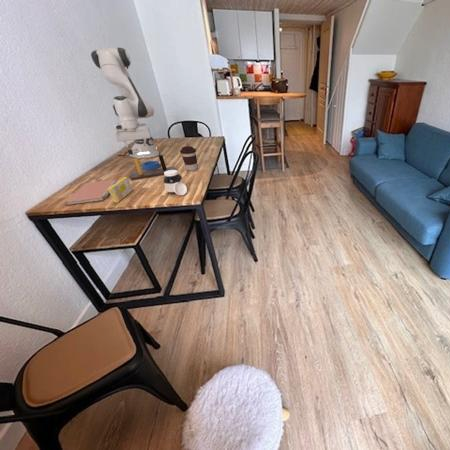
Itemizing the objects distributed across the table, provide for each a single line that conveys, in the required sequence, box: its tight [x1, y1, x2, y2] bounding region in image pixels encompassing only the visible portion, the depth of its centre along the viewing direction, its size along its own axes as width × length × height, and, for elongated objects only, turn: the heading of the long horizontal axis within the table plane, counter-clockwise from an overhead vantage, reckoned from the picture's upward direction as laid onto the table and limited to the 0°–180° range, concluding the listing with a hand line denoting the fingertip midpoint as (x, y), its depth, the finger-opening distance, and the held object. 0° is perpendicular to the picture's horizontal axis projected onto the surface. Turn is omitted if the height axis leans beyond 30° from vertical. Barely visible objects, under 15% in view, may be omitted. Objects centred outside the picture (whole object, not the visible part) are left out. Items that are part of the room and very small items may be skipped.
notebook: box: [65, 179, 118, 206], centre depth 139 cm, size 27×17×2 cm, turn 19°
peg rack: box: [130, 154, 176, 181], centre depth 162 cm, size 26×10×12 cm, turn 122°
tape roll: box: [141, 160, 161, 171], centre depth 176 cm, size 11×11×3 cm
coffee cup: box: [179, 145, 199, 172], centre depth 169 cm, size 10×10×15 cm
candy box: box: [108, 176, 134, 204], centre depth 133 cm, size 16×2×8 cm, turn 5°
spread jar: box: [163, 169, 188, 196], centre depth 136 cm, size 12×11×12 cm
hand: (137, 146), depth 166 cm, fingers open, 8 cm apart
